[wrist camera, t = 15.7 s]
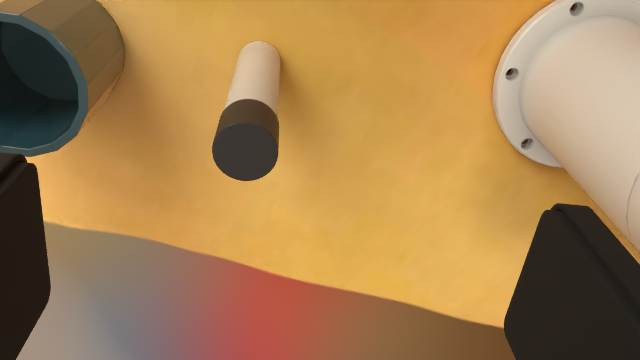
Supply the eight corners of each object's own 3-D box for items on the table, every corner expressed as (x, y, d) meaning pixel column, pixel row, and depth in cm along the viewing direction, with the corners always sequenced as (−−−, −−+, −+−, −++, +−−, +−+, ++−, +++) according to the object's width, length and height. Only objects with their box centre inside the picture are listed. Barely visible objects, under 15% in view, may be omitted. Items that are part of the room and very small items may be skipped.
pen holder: (125, -7, 36) (85, 24, 29) (124, 112, 40) (88, 164, 33) (-10, -28, 36) (-83, -1, 28) (2, 95, 39) (-61, 146, 32)
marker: (284, 42, 38) (282, 127, 26) (278, 86, 40) (273, 185, 27) (239, 35, 38) (214, 117, 26) (234, 79, 39) (209, 176, 27)
